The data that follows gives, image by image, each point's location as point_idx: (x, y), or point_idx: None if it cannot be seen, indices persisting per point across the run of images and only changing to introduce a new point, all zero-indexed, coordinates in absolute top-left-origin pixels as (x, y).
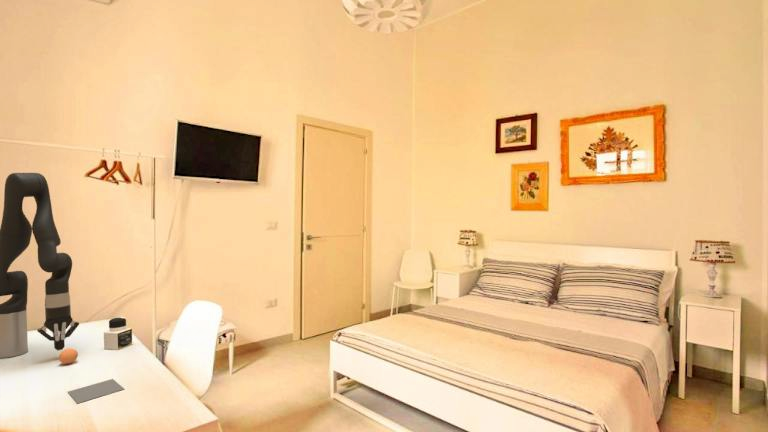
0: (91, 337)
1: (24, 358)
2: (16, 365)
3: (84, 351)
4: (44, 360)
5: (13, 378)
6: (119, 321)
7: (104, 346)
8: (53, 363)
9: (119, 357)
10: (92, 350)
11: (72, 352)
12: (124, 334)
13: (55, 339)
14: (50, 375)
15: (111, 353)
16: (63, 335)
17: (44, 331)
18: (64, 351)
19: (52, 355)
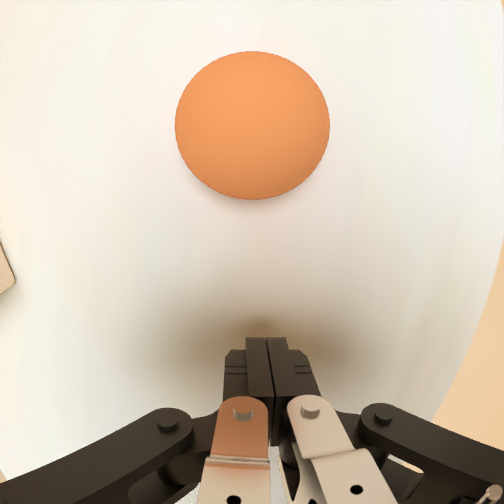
0: None
1: None
2: (424, 387)
3: (103, 349)
4: (325, 372)
5: (499, 160)
6: None
7: (4, 280)
8: (318, 248)
9: (33, 20)
10: (65, 323)
11: (234, 53)
12: None
13: (332, 411)
14: (384, 11)
15: (12, 135)
16: (233, 439)
17: (500, 484)
18: (300, 91)
19: None
